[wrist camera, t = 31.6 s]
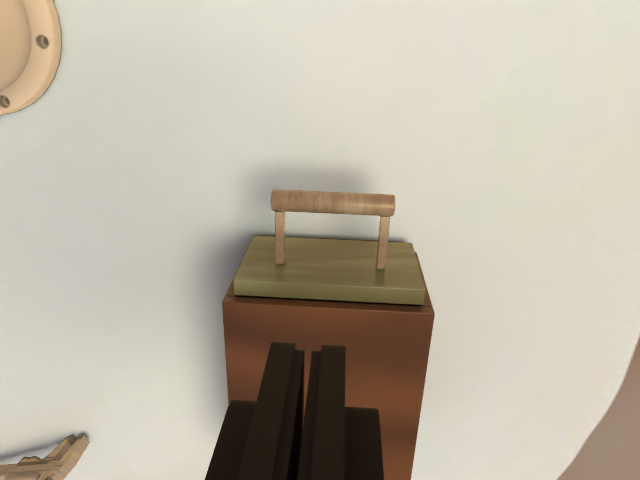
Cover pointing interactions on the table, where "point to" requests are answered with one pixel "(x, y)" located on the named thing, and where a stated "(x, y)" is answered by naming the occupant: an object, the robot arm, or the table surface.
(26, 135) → the table surface
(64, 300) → the table surface
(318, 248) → the drawer
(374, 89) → the table surface
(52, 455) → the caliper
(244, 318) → the cabinet
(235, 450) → the robot arm
